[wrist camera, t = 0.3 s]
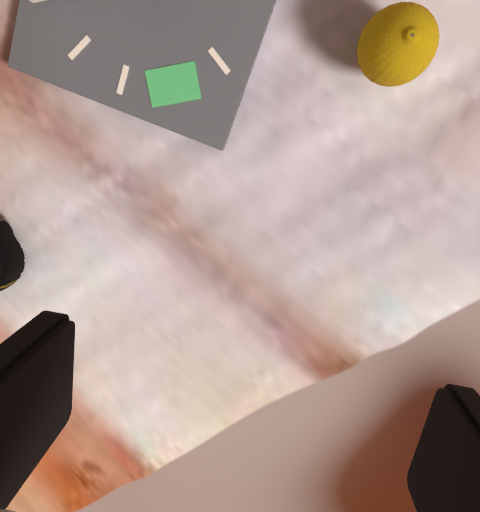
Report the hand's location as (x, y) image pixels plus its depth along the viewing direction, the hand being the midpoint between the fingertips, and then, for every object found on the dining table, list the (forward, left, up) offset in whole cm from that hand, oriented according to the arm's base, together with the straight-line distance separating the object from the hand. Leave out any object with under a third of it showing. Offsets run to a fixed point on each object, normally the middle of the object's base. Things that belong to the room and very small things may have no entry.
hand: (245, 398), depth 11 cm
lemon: (-15, +4, -30) cm, 34 cm away
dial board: (-14, -16, -30) cm, 37 cm away
